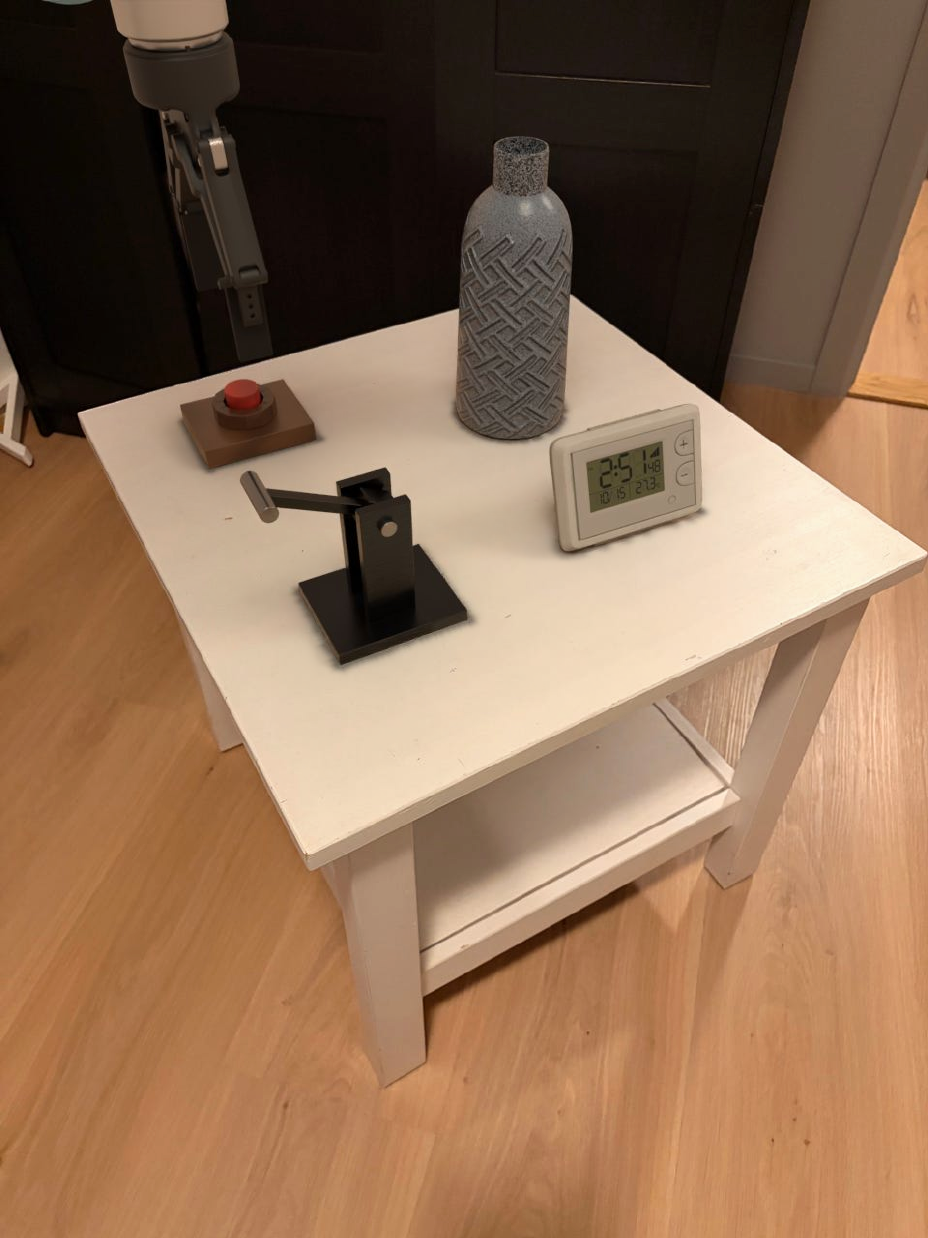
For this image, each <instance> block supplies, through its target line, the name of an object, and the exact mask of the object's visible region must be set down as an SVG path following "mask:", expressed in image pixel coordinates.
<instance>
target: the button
mask: <svg viewBox="0 0 928 1238" xmlns="http://www.w3.org/2000/svg"><path fill="white" fill-rule="evenodd" d="M258 384H259V383H257V382H256V381H255V380H252V379H248V378H241V379H236V380H235V379H234V380H231V381H229V382H228V383H227V384H226V385H225V386H224V388H223V389H224V392H225V397H226V402H227V405H228V407H229V408H231V409H234V410H246V409H250V408H254V407H256V406H257V405H259V404H260V402H261V398H260V392H259V387H258Z"/></svg>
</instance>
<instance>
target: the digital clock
mask: <svg viewBox="0 0 928 1238" xmlns="http://www.w3.org/2000/svg"><path fill="white" fill-rule="evenodd" d="M700 415H701V414H700V409H699V407H698V405H697V404H694V403H684V404H683V403H682V404H679V405H675V406H672V407H668V408H664V409H661V408H657V409H653V410H650V411H647V412H643V413H639V414H635V415H631V416H628V417H624V418H620V419H617V420H613V421H610V422H609V421H608V422H606V423H602V424H598V425H594V426H591V427H587V428H586V429H585V430H582V431H579V432H575V433H571V434H568V435H564V436H560V437H558V438H556V439H554V440H552V442H550V445H549V449H548V451H549V453H548V455H549V466H550V476H551V485H552V494H553V504H554V514H555V515H554V516H555V523H556V533H557V535H556V536H557V540H558V541H557V542H558V544H559V547H560V548H561V549H562V550H563V551H565V552H573V551H577V550H580V549H584V548H587V547H591V546H593V547H597V546H600V545H603V544H606V543H610V542H613V541H616V540H619V539H622V538H625V537H629V536H632V535H635V534H638V533H642V532H644V531H648V530H651V529H654V528H658V527H661V526H663V525H667V524H670V523H672V521H673V520H676V519H679V518H683V517H685V516H689V515H692V514H694V513H696V512H698V511H699V510H700V509H701V507H702V505H703V473H702V472H703V470H702V469H703V468H702V441H701V439H702V437H701V436H702V435H701V416H700Z"/></svg>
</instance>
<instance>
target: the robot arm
mask: <svg viewBox="0 0 928 1238" xmlns="http://www.w3.org/2000/svg"><path fill="white" fill-rule="evenodd" d="M43 1H44V2H50V3H54V4H59V5H80V4H84V3H89V2H91V1H93V0H43ZM109 1H110V5H111V9H112V14H113V17H114V21H115V25H116V29H117V31H118V32H119V33H120V34H121V35H122V36H123V37H125V38H127V39H126V40H125V42H124V44H123V46H122V51H123V57H124V61H125V65H126V69H127V73H128V77H129V81H130V85H131V89H132V93H133V96H134V98H135V99H136V100H137V102H138V103H139V104H141V105H142V106H144V107H146V108H148V109H152V110H155V111H158V113H159V117H160V124H161V132H162V139H163V147H164V154H165V161H166V170H167V176H168V183H169V186H168V189H169V192H170V193H171V195H172V197H173V198H175V204H176V208H177V209H178V210H179V212H180V213H183V212H184V214H180V221H181V225H182V230H183V234H184V239H185V243H186V244H185V245H186V248H187V253H188V257H189V261H190V265H191V266H190V267H191V269H192V275H193V279H194V283H195V288H196V290H197V292H199V293H200V292H205V291H209V290H213V289H217V288H218V289H219V290H224V293H225V298H226V304H227V308H228V313H229V318H230V323H231V329H232V334H233V338H234V344H235V350H236V355H237V359H238V361H240V363H245V362H249V361H253V360H258V359H261V358H266V357H270V356H274V350H273V345H272V338H271V334H270V328H269V321H268V316H267V311H266V310H267V309H266V303H265V299H264V292H263V286H262V284H267V283H268V281H269V273H268V271H267V269H266V267H265V263H264V258H263V254H262V251H261V247H260V243H259V240H258V235H257V232H256V231H257V230H256V228H255V224H254V221H253V217H252V213H251V209H250V204H249V202H248V198H247V193H246V190H245V186H244V182H243V179H242V175H241V171H240V166H239V165H240V164H239V160H238V155H237V150H236V146H237V145H236V141H235V139H234V138H233V135H232V134H231V133H230V134H229V133H228V130H227V128H226V126H225V125H223V126H220V124H219V120H218V117H217V115H216V114H217V113H216V110H217V109H218V108H219V106H221V105H222V104H224V103H225V104H227V103H228V102H230V101H232V100H233V99H235V98H236V97H237V95H238V94H239V91H240V86H241V84H240V77H239V73H238V72H239V71H238V66H237V58H236V52H235V47H234V41H233V38H232V37H231V36H230V35H229V34H228V33H227V32H226V31H224V30H225V29H226V28H227V26H228V24H230V23H229V15H228V9H227V3H226V0H109Z"/></svg>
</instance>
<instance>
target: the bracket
mask: <svg viewBox="0 0 928 1238" xmlns="http://www.w3.org/2000/svg"><path fill="white" fill-rule="evenodd" d="M335 487H336V496H342V497H351V498H355V497H356V494H357V492H358V489H359V487H361V488H370V489H378V490H386V491H389V492H390V493H391V495H392V496H393V494H392V479H391V472H390V471H389V470H388V468H387V467H386V466H385V467H381V468H377V469H374V470H371V471H368V472H364V473H360V474H356V475H353V476H350V477H346V478H343V479H340V480H336V481H335ZM393 497H394V498H391V499H388V500H384V501H381V502H378V503H374V504H371V505H368V506H365V507H361V508H358V509H355V516H356V520H355V519H354V517H353V516H352V515H348V514H339V522H340V530H341V538H342V548H343V555H344V556H343V557H344V565H345V567H342V568H340V569H336V570H333V571H330V572H327V573H324V574H321V575H317V576H314V577H312V578H309V579H306V580H302V581H299V582H298V583H297V585H298V590H299V591H298V592H299V594H300V595H301V597H302V599H303V601H304V603H305V604H306V606H307V608H308V609H309V612H310V613H311V616H312V617H313V619H314V620H315V622H316V624H317V626H318V627H319V630H320V631H321V633H322V635H323V636H324V638H325V640H326V642H327V644H328V645H329V647H330V649H331V651H332V653H333V655H334V656H335V658H336V660H337V661H338V664H339V665H340V666H341V665H344V664H347V663H350V662H351V661H355V660H358V659H361V658H364V657H366V656H369V655H373V654H375V653H377V652H380V651H382V650H386V649H388V648H391V647H394V646H397V645H400V644H403V643H405V642H407V641H411V640H413V639H416V638H419V637H422V636H425V635H427V634H430V633H433V632H436V631H438V630H441V629H444V628H447V627H450V626H453V625H455V624H458V623H460V622H461V623H462V622H463V621H466V620H468V609H467V607H466V606H465V605H464V603H462V601H461V600H460V598H459V596H458V595H457V594H456V593H455V591H454V590H453V589H452V587H451V585H449V583H448V581H447V580H446V578H444V576H443V574H442V573H441V572H440V571H439V569H438V567H436V565H435V564H434V563H433V561H432V560H431V558H430V557H429V556H428V554H427V553H426V552H425V550H424V548H423V547H422V546H421V545H420V543H416V544H413V542H414V541H413V521H412V520H413V519H412V517H413V516H412V501H411V499H410V498H409V496H408V495H407V494H406V493H404V494H401V495H398V496H393Z"/></svg>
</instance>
